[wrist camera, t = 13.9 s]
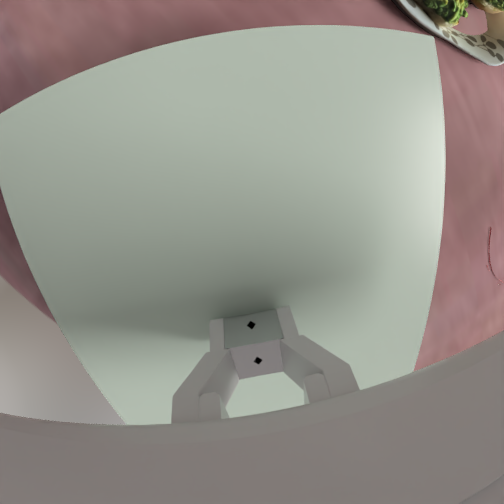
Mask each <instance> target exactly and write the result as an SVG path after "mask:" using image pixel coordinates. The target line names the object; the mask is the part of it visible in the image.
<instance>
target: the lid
mask: <svg viewBox="0 0 504 504" xmlns="http://www.w3.org/2000/svg"><path fill="white" fill-rule="evenodd" d="M0 187H1V191H2V194H3V198H4V201H5V204H6V207H7V210H8V213H9V216H10V219H11V222H12V225H13V228H14V230H15V233H16V236H17V238H18V241H19V244H20V246H21V249H22V251H23V254H24V256H25V258H26V261H27V263H28V265H29V268H30V270H31V272H32V274H33V277H34V279H35V281H36V283H37V285H38V287H39V289H40V291H41V293H42V295H43V297H44V299H45V301H46V303H47V305H48V307H49V309H50V311H51V313H52V315H53V317H54V318H55V320H56V322H57V324H58V326H59V327H60V329H61V331H62V332H63V334H64V336H65V338H66V339H67V341H68V343H69V344H70V346H71V348H72V349H73V351H74V352H75V354H76V356H77V357H78V359H79V360H80V362H81V363H82V365H83V366H84V368H85V370H86V371H87V372H88V374H89V375H90V377H91V378H92V380H93V381H94V383H95V384H96V385H97V387H98V388H99V390H100V391H101V392H102V393H103V395H104V396H105V398H106V399H107V400H108V402H109V403H110V404H111V406H112V407H113V408H114V409H115V411H116V412H117V413H118V415H119V416H120V417H121V418H122V420H123V421H124V422H125V423H126V424H127V425H149V424H171V415H172V399H173V395H174V393H175V392H176V391H177V390H178V388H179V387H180V386H181V384H182V383H183V382H184V380H185V379H186V378H187V377H188V375H189V374H190V373H191V371H192V370H193V369H194V367H195V366H196V365H197V363H198V362H199V361H200V360H201V358H202V357H203V356H204V354H205V353H206V352H210V337H209V323H210V320H213V319H220V318H225V317H232V316H238V315H245V314H250V313H256V312H261V311H266V310H271V309H276V308H279V307H284V306H288V305H289V306H290V308H291V312H292V315H293V318H294V321H295V324H296V327H297V330H298V333H299V335H304V336H306V337H307V338H309V339H310V340H312V341H314V342H315V343H317V344H318V345H320V346H321V347H323V348H324V349H326V350H327V351H329V352H331V353H332V354H334V355H335V356H337V357H338V358H340V359H342V360H343V361H345V362H346V363H348V364H349V365H350V367H351V370H352V372H353V374H354V377H355V379H356V381H357V384H358V386H359V389H360V390H362V389H365V388H368V387H371V386H374V385H378V384H381V383H384V382H387V381H390V380H392V379H395V378H398V377H401V376H404V375H406V374H409V373H412V372H413V370H414V367H415V364H416V360H417V357H418V353H419V350H420V346H421V342H422V338H423V334H424V330H425V326H426V322H427V318H428V313H429V308H430V304H431V299H432V294H433V288H434V283H435V277H436V271H437V264H438V257H439V250H440V242H441V233H442V222H443V210H444V194H445V125H444V109H443V97H442V88H441V79H440V71H439V64H438V58H437V52H436V46H435V41H434V36H428V35H423V34H418V33H412V32H405V31H398V30H390V29H382V28H372V27H359V26H339V25H298V26H278V27H265V28H255V29H246V30H238V31H230V32H224V33H217V34H212V35H206V36H201V37H196V38H191V39H186V40H182V41H177V42H173V43H169V44H165V45H161V46H157V47H154V48H150V49H146V50H143V51H140V52H136V53H133V54H130V55H127V56H124V57H121V58H118V59H115V60H112V61H109V62H106V63H104V64H101V65H98V66H96V67H93V68H91V69H88V70H86V71H83V72H81V73H78V74H76V75H74V76H71V77H69V78H67V79H65V80H62V81H60V82H58V83H56V84H54V85H52V86H50V87H48V88H46V89H44V90H42V91H40V92H38V93H36V94H34V95H32V96H30V97H28V98H26V99H25V100H23V101H21V102H19V103H18V104H16V105H14V106H12V107H11V108H9V109H7V110H6V111H4V112H2V113H1V114H0ZM301 405H304V390H303V389H301V388H300V387H299V386H298V385H297V384H296V383H295V382H294V381H293V380H292V379H290V378H289V377H288V376H287V375H286V374H285V373H284V372H279V373H273V374H267V375H261V376H256V377H251V378H245V379H240V380H239V383H238V385H237V387H236V388H235V390H234V392H233V394H232V396H231V398H230V400H229V402H228V404H227V406H226V407H225V408H226V410H227V412H228V415H229V417H230V418H233V417H241V416H247V415H254V414H260V413H266V412H271V411H277V410H282V409H287V408H292V407H296V406H301Z"/></svg>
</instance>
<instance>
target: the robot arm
mask: <svg viewBox="0 0 504 504" xmlns="http://www.w3.org/2000/svg"><path fill="white" fill-rule="evenodd" d="M209 337H210V352H206V353H205V354H204V356H203V357H202V358H201V360H200V361H199V362H198V363H197V365H196V366H195V367H194V369H193V370H192V371H191V373H190V374H189V375H188V377H187V378H186V379H185V380H184V382H183V383H182V384H181V386H180V387H179V388H178V390H177V391H176V392H175V393H174V395H173V399H172V415H171V424H149V425H106V424H84V423H70V422H59V421H49V420H41V419H33V418H26V417H19V416H14V415H9V414H4V413H0V504H504V330H503V331H501V332H499V333H498V334H496V335H494V336H492V337H490V338H488V339H486V340H484V341H482V342H480V343H478V344H476V345H474V346H472V347H470V348H468V349H466V350H464V351H462V352H460V353H457V354H455V355H453V356H451V357H448V358H446V359H444V360H442V361H439V362H437V363H434V364H432V365H430V366H427V367H425V368H422V369H420V370H417V371H414V372H412V373H409V374H406V375H404V376H401V377H398V378H395V379H392V380H390V381H387V382H384V383H381V384H378V385H374V386H371V387H368V388H365V389H362V390H360V389H359V386H358V384H357V381H356V379H355V377H354V374H353V372H352V370H351V367H350V365H349V364H348V363H346V362H345V361H343V360H342V359H340V358H338V357H337V356H335V355H334V354H332V353H331V352H329V351H327V350H326V349H324V348H323V347H321V346H320V345H318V344H317V343H315V342H314V341H312V340H310V339H309V338H307V337H306V336H304V335H299V333H298V330H297V327H296V324H295V321H294V318H293V315H292V312H291V308H290V306H289V305H288V306H284V307H279V308H276V309H271V310H266V311H261V312H256V313H250V314H245V315H238V316H232V317H225V318H220V319H213V320H210V323H209ZM279 372H284V373H285V374H286V375H287V376H288V377H289V378H290V379H292V380H293V381H294V382H295V383H296V384H297V385H298V386H299V387H300V388H301V389H303V390H304V405H301V406H296V407H292V408H287V409H282V410H277V411H271V412H266V413H260V414H254V415H247V416H241V417H233V418H230V417H229V415H228V412H227V410H226V408H225V407H226V406H227V404H228V402H229V400H230V398H231V396H232V394H233V392H234V390H235V388H236V387H237V385H238V383H239V380H240V379H245V378H251V377H256V376H261V375H267V374H273V373H279Z"/></svg>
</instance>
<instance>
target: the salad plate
mask: <svg viewBox="0 0 504 504" xmlns="http://www.w3.org/2000/svg"><path fill="white" fill-rule="evenodd" d="M392 1H393V2H394V3H395V4H396V6H397V7H398V8H399V9H400V10H401V11H402V12H403V13H404V14H405V15H406V16H408V17H409V18H410V19H412V20H413V21H414V22H415V23H416V24H417V25H419V26H420V27H421V28H423V29H424V30H425V31H427V32H428V33H430V34H432V35H435V36H437V37H440V38H443V39H445V40H447V41H448V42H450V43H451V44H453V45H455V46H456V47H458V48H459V49H461V50H462V51H463V52H465V53H467V54H469V55H471V56H473V57H474V58H476V59H478V60H480V61H482V62H483V63H485V64H486V65H491V66H500V65H501V64H503V63H504V0H392ZM469 2H470V3H473V4H474V6H475V7H476V8H477V9H481V10H484V11H485V14H486V19H487V26H488V31H487V32H485V33H484V34H481V35H474V36H473V35H467V34H463V33H461V32H459V31H457V30H455V29H453V28H451V27H453V26H455V25H457V24H458V23H459V21H458V20H459V18H460V17H461V16H463V17H465V18H466V17H468V13H467V12H466V11H465V9H464V8H467V6H468V3H469Z"/></svg>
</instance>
